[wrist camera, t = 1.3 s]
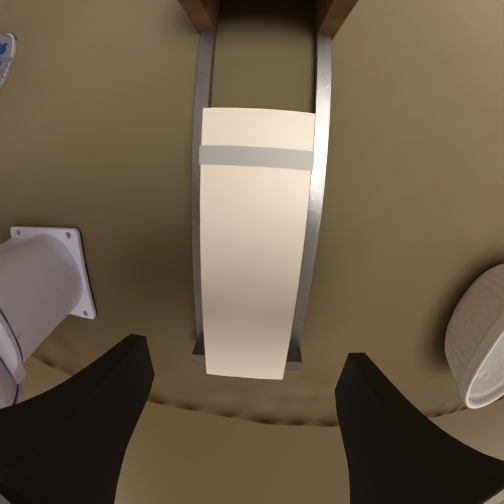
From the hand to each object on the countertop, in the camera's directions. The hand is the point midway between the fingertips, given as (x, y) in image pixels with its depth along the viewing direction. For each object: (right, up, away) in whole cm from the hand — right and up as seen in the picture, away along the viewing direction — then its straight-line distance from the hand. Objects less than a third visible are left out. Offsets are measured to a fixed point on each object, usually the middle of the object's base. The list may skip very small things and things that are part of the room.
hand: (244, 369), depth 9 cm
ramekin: (+23, -2, +10) cm, 25 cm away
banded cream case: (0, +5, +8) cm, 10 cm away
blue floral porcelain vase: (-26, +23, +3) cm, 34 cm away
